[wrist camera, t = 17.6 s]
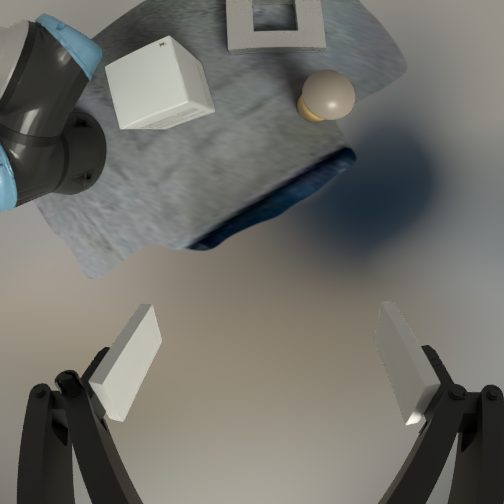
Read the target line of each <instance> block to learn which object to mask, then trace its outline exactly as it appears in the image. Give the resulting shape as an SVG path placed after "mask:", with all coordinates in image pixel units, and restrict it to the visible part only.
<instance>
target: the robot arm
mask: <svg viewBox="0 0 504 504" xmlns="http://www.w3.org/2000/svg"><path fill="white" fill-rule="evenodd" d="M101 58H102V49H101V47H100V46H99V45H98V44H96V43H95V42H94V41H92V40H91V39H89V38H88V37H87V36H85V35H83V34H82V33H80V32H79V31H77V30H75V29H74V28H72V27H70V26H68V25H66V24H64V23H63V22H61V21H59V20H58V19H56V18H54V17H52V16H50V15H48V14H42V15H41V16H40V17H38V18H37V19H36V21H35V23H34V22H30V21H27V20H21V21H20V22H18V23H16V24H14V25H12V26H11V27H9V28H3V27H0V212H2V211H5V210H12V209H13V208H15V207H17V206H20V205H22V204H24V203H26V202H29V201H31V200H34V199H36V198H38V197H41V196H43V195H46V194H48V193H51V192H52V193H59V194H66V195H72V194H77V193H80V192H82V191H85V190H87V189H88V188H90V187H91V186H92V185H93V184H94V183H95V182H96V181H97V180H98V178H99V176H100V175H101V173H102V170H103V168H104V164H105V160H106V141H105V136H104V133H103V131H102V128H101V127H100V125H99V124H98V122H97V121H96V120H95V119H94V118H93V117H91V116H89V115H87V114H84V113H72V111H73V109H74V107H75V105H76V103H77V102H78V100H79V98H80V96H81V94H82V92H83V90H84V89H85V87H86V85H87V83H88V82H90V81H91V79H92V75H93V73H94V71H95V69H96V68H97V66H98V64H99V62H100V61H101ZM161 342H162V339H161V335H160V332H159V328H158V324H157V321H156V317H155V313H154V309H153V305H151V304H141V305H140V306H139V307H138V309H137V310H136V312H135V313H134V315H133V316H132V317H131V319H130V320H129V322H128V323H127V324H126V326H125V327H124V329H123V330H122V332H121V333H120V335H119V336H118V338H117V339H116V341H115V342H114V343H113V345H112V346H111V348H109V347H105V348H103V349H102V350H101V351H99V352H98V354H97V355H96V357H95V358H94V360H93V361H92V362H91V365H89V367H88V368H87V370H86V371H85V372H84V374H83V375H82V377H81V378H79V376H78V374H77V373H76V372H75V371H73V370H66V371H63V372H61V373H60V374H59V375H58V376H57V377H56V379H55V385H56V386H57V388H58V390H59V391H52V390H51V389H50V387H49V386H48V385H47V384H43V383H41V384H38V385H36V386H34V387H33V388H32V390H31V391H30V395H29V399H28V404H27V409H26V414H25V419H24V425H23V432H22V439H21V446H20V455H19V466H18V479H17V480H18V481H17V504H75V499H74V487H73V471H72V470H73V469H72V444H73V447H74V451H75V455H76V458H77V461H78V464H79V468H80V471H81V474H82V477H83V480H84V483H85V485H86V488H87V491H88V494H89V496H90V499H91V502H92V504H143V503H142V501H141V499H140V497H139V495H138V493H137V492H136V489H135V488H134V486H133V484H132V482H131V480H130V478H129V476H128V473H127V471H126V469H125V467H124V465H123V463H122V461H121V459H120V456H119V454H118V451H117V449H116V447H115V444H114V442H113V439H112V437H111V434H110V432H109V429H108V426H107V424H106V421H105V419H104V418H103V417H104V415H105V412H107V414H108V416H109V417H110V419H113V420H117V421H121V422H124V419H125V417H126V415H127V413H128V411H129V409H130V406H131V404H132V402H133V400H134V398H135V396H136V393H137V392H138V389H139V387H140V385H141V383H142V381H143V379H144V377H145V375H146V373H147V371H148V369H149V367H150V364H151V362H152V360H153V358H154V356H155V354H156V352H157V350H158V348H159V346H160V344H161ZM374 342H375V344H376V347H377V349H378V352H379V354H380V357H381V359H382V362H383V364H384V367H385V370H386V372H387V374H388V377H389V380H390V382H391V385H392V388H393V391H394V394H395V396H396V399H397V402H398V405H399V407H400V410H401V413H402V416H403V419H404V422H405V425H408V424H413V423H417V422H419V421H420V420H421V419H422V417H423V415H424V416H425V418H426V422H425V424H424V425H423V427H422V428H421V430H420V432H419V433H420V434H419V436H418V438H417V440H416V442H415V444H414V446H413V448H412V450H411V452H410V453H409V455H408V457H407V459H406V460H405V462H404V464H403V466H402V467H401V469H400V471H399V472H398V474H397V476H396V477H395V479H394V480H393V482H392V484H391V485H390V487H389V488H388V490H387V491H386V493H385V494H384V496H383V497H382V499H381V500H380V502H379V503H378V504H425V503H426V502H427V500H428V498H429V496H430V494H431V492H432V490H433V488H434V486H435V484H436V482H437V480H438V478H439V476H440V474H441V471H442V469H443V467H444V465H445V463H446V460H447V458H448V455H449V453H450V450H451V448H452V445H453V443H454V440H455V437H456V434H457V433H459V434H458V444H457V453H456V461H455V468H454V474H453V480H452V485H451V491H450V495H449V500H448V504H503V502H504V397H503V393H502V391H501V390H500V388H498V387H497V386H495V385H487V386H485V387H484V388H483V389H482V391H481V392H467V391H466V389H465V388H464V387H462V386H460V385H458V384H454V382H453V381H452V379H451V377H450V375H449V373H448V372H447V370H446V368H445V366H444V365H443V364H442V361H441V360H440V359H439V356H438V354H437V353H436V351H435V350H434V349H433V348H431V347H430V346H429V345H425V346H420V344H419V342H418V341H417V339H416V337H415V336H414V334H413V332H412V330H411V329H410V327H409V325H408V324H407V322H406V320H405V319H404V317H403V316H402V314H401V312H400V311H399V309H398V307H397V306H396V304H395V303H394V301H384V302H381V307H380V312H379V317H378V322H377V326H376V331H375V335H374Z"/></svg>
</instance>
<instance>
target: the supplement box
mask: <svg viewBox="0 0 504 504" xmlns="http://www.w3.org/2000/svg"><path fill="white" fill-rule="evenodd" d="M105 70H106V74H107V79H108V83H109V88H110V92H111V96H112V100H113V104H114V108H115V112H116V115H117V119H118V123H119V127H120V129H168V128H171V127H173V126H176V125H178V124H181V123H184V122H187V121H189V120H192V119H195V118H198V117H201V116H204V115H207V114H210V113H213V112H215V108H214V104H213V101H212V98H211V94H210V91H209V87H208V84H207V81H206V77H205V74H204V70H203V67H202V64H201V63H200V62H199V61H198V60H197V59H196V58H195V57H194V56H193V55H192V54H190V53H189V52H188V51H187V50H186V49H185V48H184V47H183V46H181V45H180V44H179V43H178V42H177V41H176V40H174V39H173V38H172V37H171V36H166V37H164V38H162V39H160V40H157V41H155V42H153V43H151V44H148V45H146V46H144V47H142V48H140V49H138V50H136V51H134V52H132V53H130V54H128V55H126V56H124V57H122V58H120V59H118V60H116V61H114V62H112V63H111V64H109V65H107V66H105Z"/></svg>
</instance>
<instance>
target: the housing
mask: <svg viewBox="0 0 504 504" xmlns="http://www.w3.org/2000/svg"><path fill="white" fill-rule="evenodd" d="M267 5H294V14H295V24H296V31H258V32H255V31H254V16H253V6H267ZM226 14H227V37H228V51H229V52H230V54H231V55H239V54H254V53H280V52H301V53H323V52H324V50H325V49H326V43H325V34H324V25H323V17H322V10H321V3H320V0H226Z"/></svg>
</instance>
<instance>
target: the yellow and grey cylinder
mask: <svg viewBox="0 0 504 504" xmlns="http://www.w3.org/2000/svg"><path fill="white" fill-rule="evenodd" d="M354 102H355V92H354V89H353V86H352V85H351V83H350V82H349V80H348V79H347V78H346V77H345V76H343V75H342V74H340V73H338V72H336V71H332V70H320V71H317V72H315V73H313V74H311V75H310V76H309V77H308V78H307V80H306V81H305V83H304V85H303V88H302V94H301V96H300V98H299V99H298V102H297V109H298V112H299V114H300V115H301V116H302V117H303V118H304V119H305V120H307V121H310V122H319V121H322V120H325V119H326V120H334V119H338V118H341V117H343V116H345V115H347V114H348V113H349V112H350V111H351V109H352V107H353V105H354Z"/></svg>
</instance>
